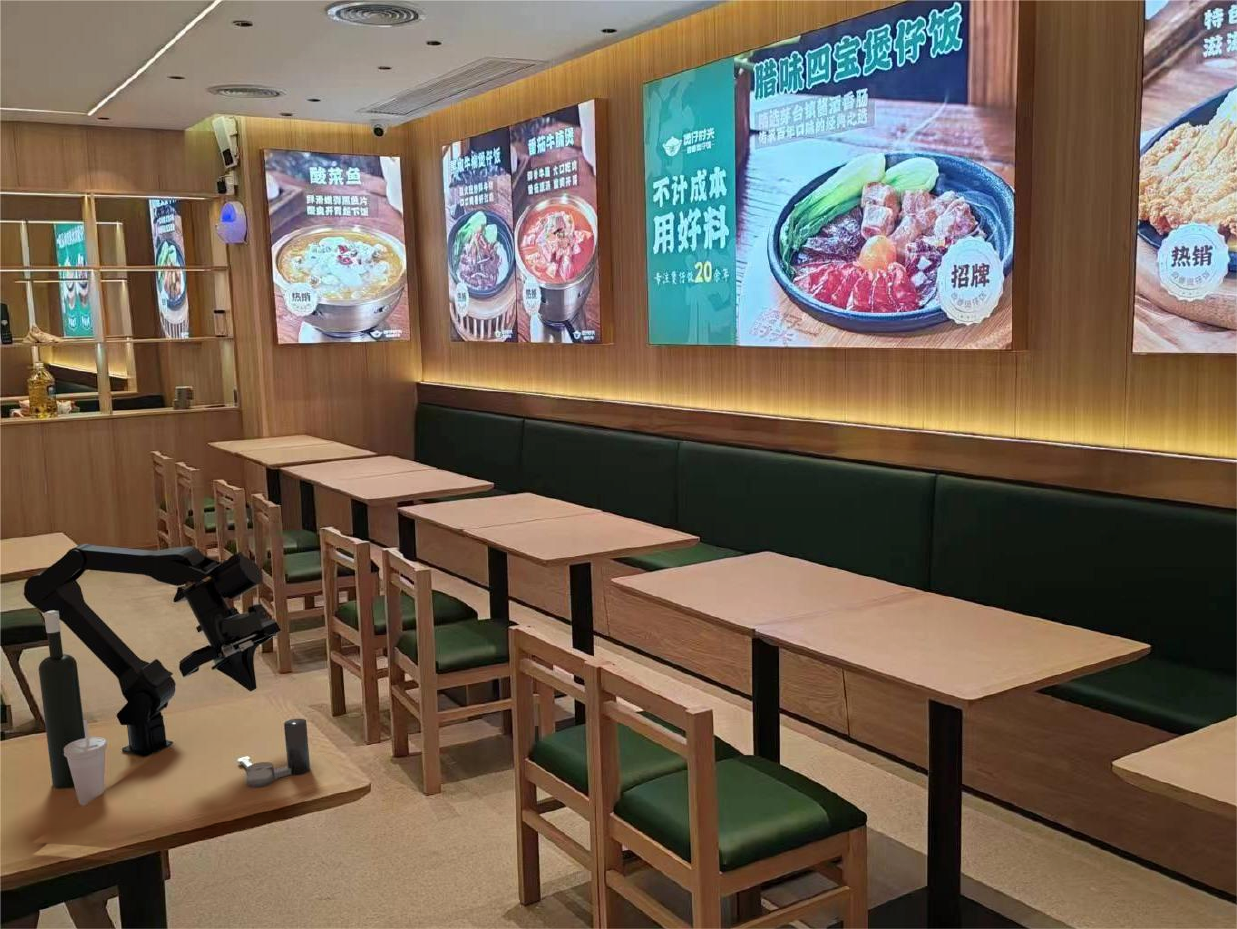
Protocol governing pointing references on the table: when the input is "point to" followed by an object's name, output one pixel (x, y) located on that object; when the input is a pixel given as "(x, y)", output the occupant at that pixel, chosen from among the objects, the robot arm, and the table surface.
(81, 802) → the smoothie
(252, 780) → the dial
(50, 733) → the wine bottle
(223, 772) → the table surface
